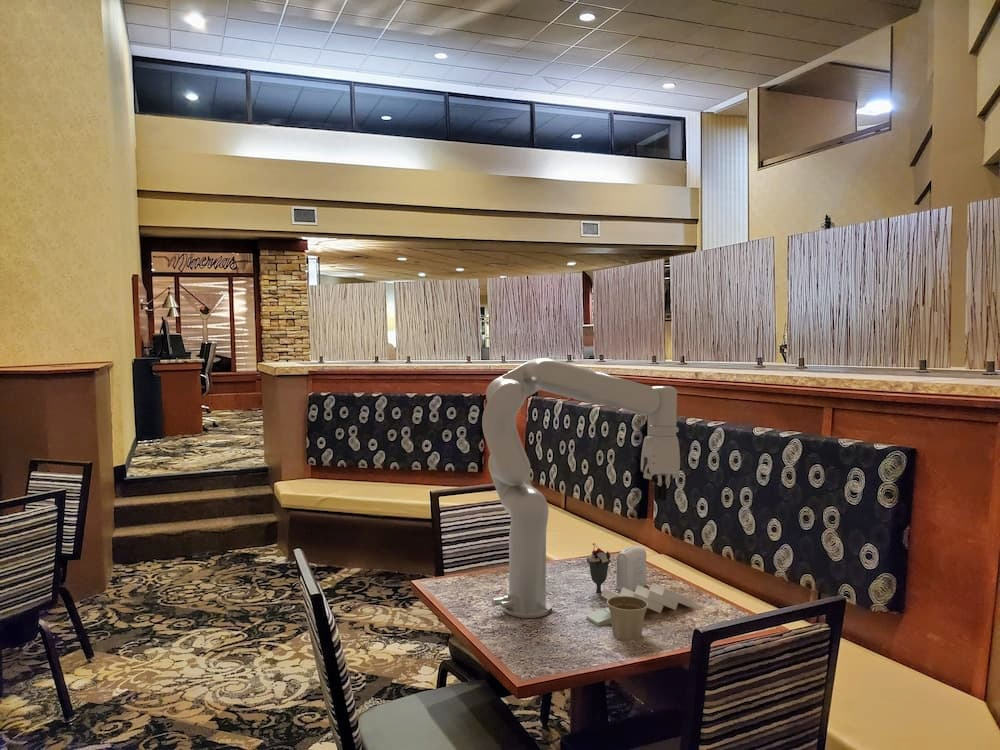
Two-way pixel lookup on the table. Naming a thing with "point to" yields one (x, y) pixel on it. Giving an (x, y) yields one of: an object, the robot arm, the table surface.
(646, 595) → the domino
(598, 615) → the pale green domino
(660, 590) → the domino
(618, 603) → the flower pot
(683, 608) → the domino board
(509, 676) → the table surface
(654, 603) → the domino
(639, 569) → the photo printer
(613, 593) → the domino
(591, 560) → the sundae
